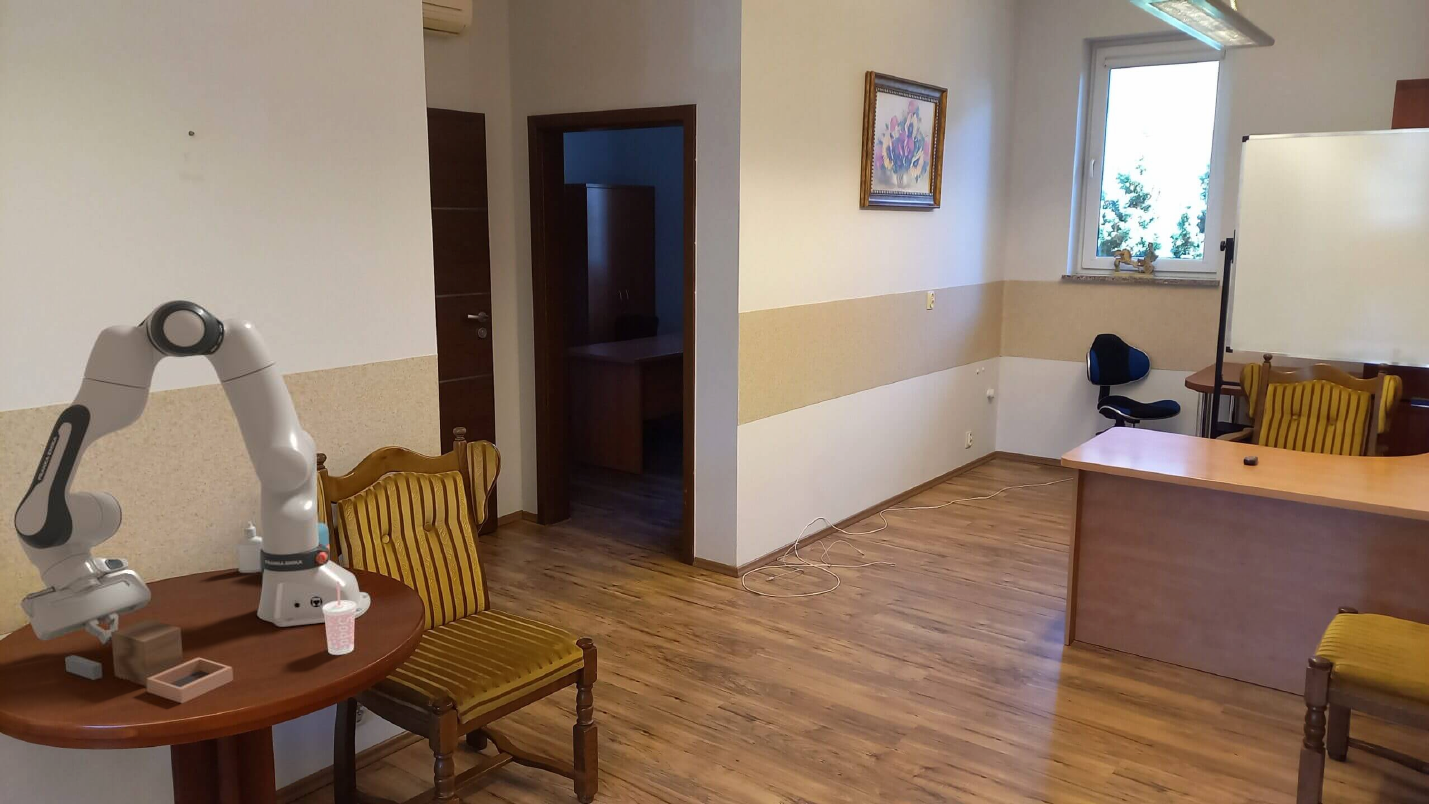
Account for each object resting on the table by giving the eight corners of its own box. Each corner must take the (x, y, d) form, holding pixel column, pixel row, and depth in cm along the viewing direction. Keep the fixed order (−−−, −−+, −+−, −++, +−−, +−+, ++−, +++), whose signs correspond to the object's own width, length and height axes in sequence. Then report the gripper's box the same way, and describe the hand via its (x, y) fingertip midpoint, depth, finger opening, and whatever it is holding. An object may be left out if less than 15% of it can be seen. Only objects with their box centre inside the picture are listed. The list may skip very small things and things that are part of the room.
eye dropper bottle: (257, 574, 229) (254, 525, 227) (235, 572, 230) (232, 524, 228) (268, 568, 233) (265, 520, 231) (247, 566, 234) (244, 518, 232)
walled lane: (66, 670, 177) (65, 657, 176) (134, 645, 188) (134, 632, 188) (94, 680, 173) (92, 667, 173) (162, 653, 185) (161, 641, 185)
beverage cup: (324, 658, 185) (321, 588, 182) (323, 646, 190) (320, 577, 188) (358, 653, 187) (356, 584, 185) (356, 641, 193) (354, 574, 190)
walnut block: (114, 676, 175) (111, 632, 174) (151, 661, 182) (148, 618, 180) (147, 687, 172) (143, 641, 170) (183, 671, 178) (180, 628, 176)
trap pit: (147, 691, 170) (146, 678, 169) (199, 670, 178) (198, 657, 178) (182, 703, 166) (181, 689, 165) (233, 680, 175) (232, 667, 174)
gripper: (22, 588, 172) (61, 651, 170) (133, 556, 190) (170, 612, 188) (10, 607, 175) (47, 669, 172) (120, 574, 193) (156, 630, 190)
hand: (112, 639), depth 180 cm, fingers closed
